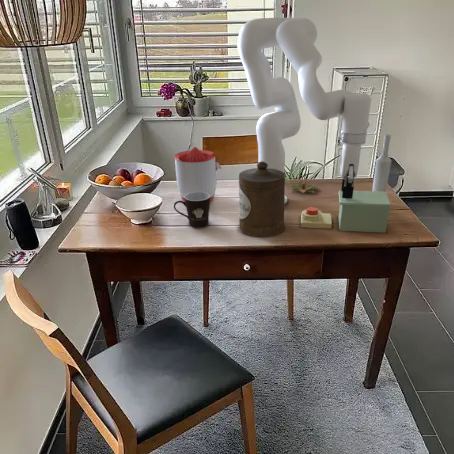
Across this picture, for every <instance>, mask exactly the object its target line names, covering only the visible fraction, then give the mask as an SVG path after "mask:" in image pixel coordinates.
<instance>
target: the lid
mask: <svg viewBox="0 0 454 454" xmlns="http://www.w3.org/2000/svg"><path fill="white" fill-rule="evenodd" d="M342 193H343V192H342V191H341V189H339V190H338V193H337V194H338V201H339V202H338V203H339V206H340V205H359V206H386V207H390V208H391V202H390V199H389V196H388V194H387V191H386V192H378V191H372V190H353V197H352V198H351V199H350V198H342Z"/></svg>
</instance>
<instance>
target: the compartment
mask: <svg viewBox="0 0 454 454" xmlns="http://www.w3.org/2000/svg"><path fill="white" fill-rule="evenodd" d="M390 211H391V206H390V207H386V206H359V205H340V204H339V209H338V216H337V218H338V227H339V231H342V232H364V233H365V232H367V233H385V234H386V232H387V227H388V221H389V215H390Z"/></svg>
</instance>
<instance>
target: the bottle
mask: <svg viewBox="0 0 454 454" xmlns="http://www.w3.org/2000/svg"><path fill="white" fill-rule="evenodd" d="M391 136H392V134H388V133H386V134H384V137H383V145H382V149H381V154H380V156H379V157H377V158H376V159H375V168H374V175H373V181H372V182H373V183H372V190H371V191H378V192H386V193H387V189H388V183H389V177H390V171H391V166H392V159H391V157H390V155H389V148H390V142H391Z"/></svg>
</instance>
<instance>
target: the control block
mask: <svg viewBox="0 0 454 454" xmlns="http://www.w3.org/2000/svg"><path fill="white" fill-rule="evenodd" d="M332 226H333V223H332V213H328V212H327V213H325V212H322V211H321V210H319V209H318V214H317V215H308V214H307V209H304V210H303V211H302V212H301V217H300V228H309V229H310V228H311V229H332Z"/></svg>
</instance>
